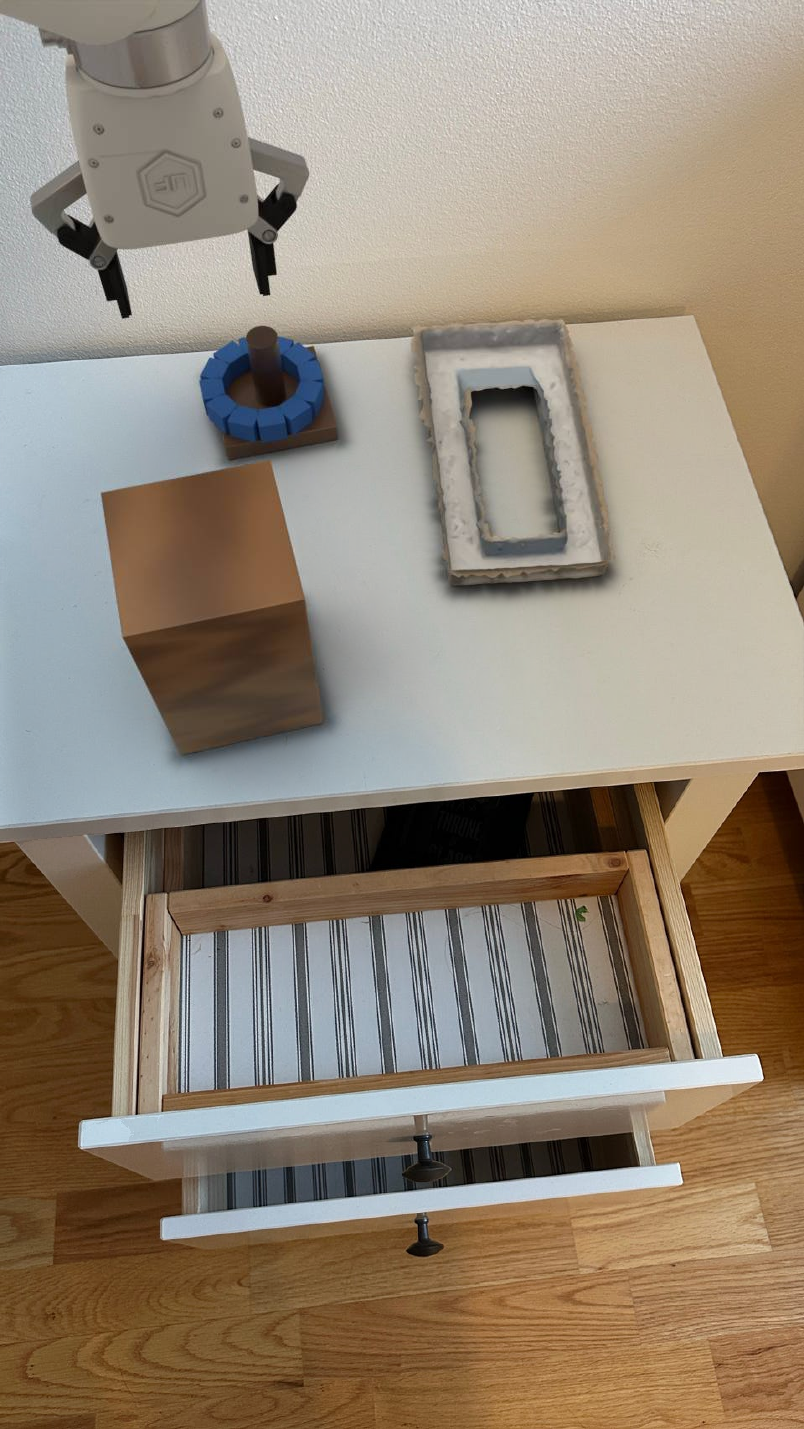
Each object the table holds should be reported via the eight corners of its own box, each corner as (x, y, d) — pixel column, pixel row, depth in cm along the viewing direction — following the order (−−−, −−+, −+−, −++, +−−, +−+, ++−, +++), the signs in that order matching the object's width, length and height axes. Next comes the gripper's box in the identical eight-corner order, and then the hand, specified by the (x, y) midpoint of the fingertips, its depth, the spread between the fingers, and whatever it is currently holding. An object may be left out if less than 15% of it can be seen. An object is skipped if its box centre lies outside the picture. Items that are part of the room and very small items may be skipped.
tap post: (228, 460, 78) (212, 391, 71) (209, 378, 82) (193, 305, 75) (338, 439, 79) (333, 369, 72) (315, 359, 83) (308, 285, 76)
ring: (214, 451, 76) (210, 436, 75) (196, 362, 80) (192, 346, 79) (334, 430, 77) (333, 413, 76) (310, 343, 81) (309, 326, 80)
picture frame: (561, 343, 84) (566, 315, 81) (618, 585, 73) (627, 563, 70) (406, 354, 83) (407, 326, 81) (441, 600, 72) (443, 578, 70)
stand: (180, 755, 67) (122, 637, 52) (160, 632, 71) (100, 492, 57) (324, 723, 68) (305, 599, 54) (295, 604, 72) (270, 459, 58)
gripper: (-20, 92, 50) (74, 352, 66) (310, 50, 53) (326, 311, 68) (-28, 11, 54) (63, 276, 69) (283, -26, 56) (304, 239, 71)
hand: (193, 293), depth 68 cm, fingers open, 9 cm apart
